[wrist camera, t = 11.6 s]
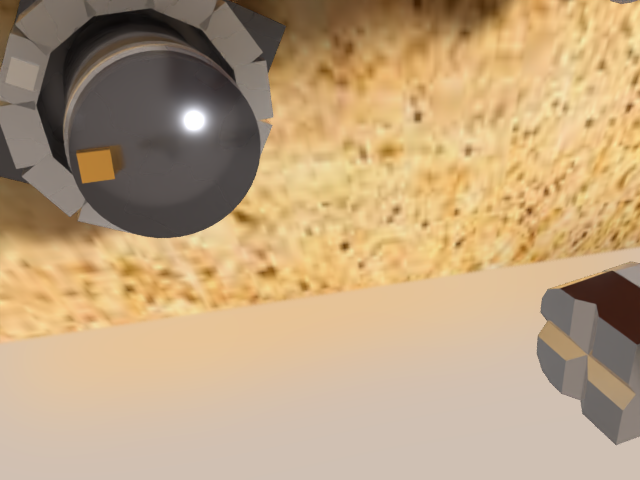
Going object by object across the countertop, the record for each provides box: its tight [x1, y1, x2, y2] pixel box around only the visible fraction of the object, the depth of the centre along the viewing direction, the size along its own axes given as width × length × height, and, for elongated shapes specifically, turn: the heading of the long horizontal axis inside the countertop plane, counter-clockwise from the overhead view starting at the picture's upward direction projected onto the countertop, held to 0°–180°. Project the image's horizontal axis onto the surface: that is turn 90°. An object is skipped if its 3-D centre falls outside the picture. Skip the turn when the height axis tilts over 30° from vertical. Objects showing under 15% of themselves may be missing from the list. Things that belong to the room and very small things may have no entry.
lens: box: [63, 13, 261, 238], centre depth 19 cm, size 5×5×8 cm
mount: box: [0, 0, 286, 234], centre depth 22 cm, size 9×9×4 cm
